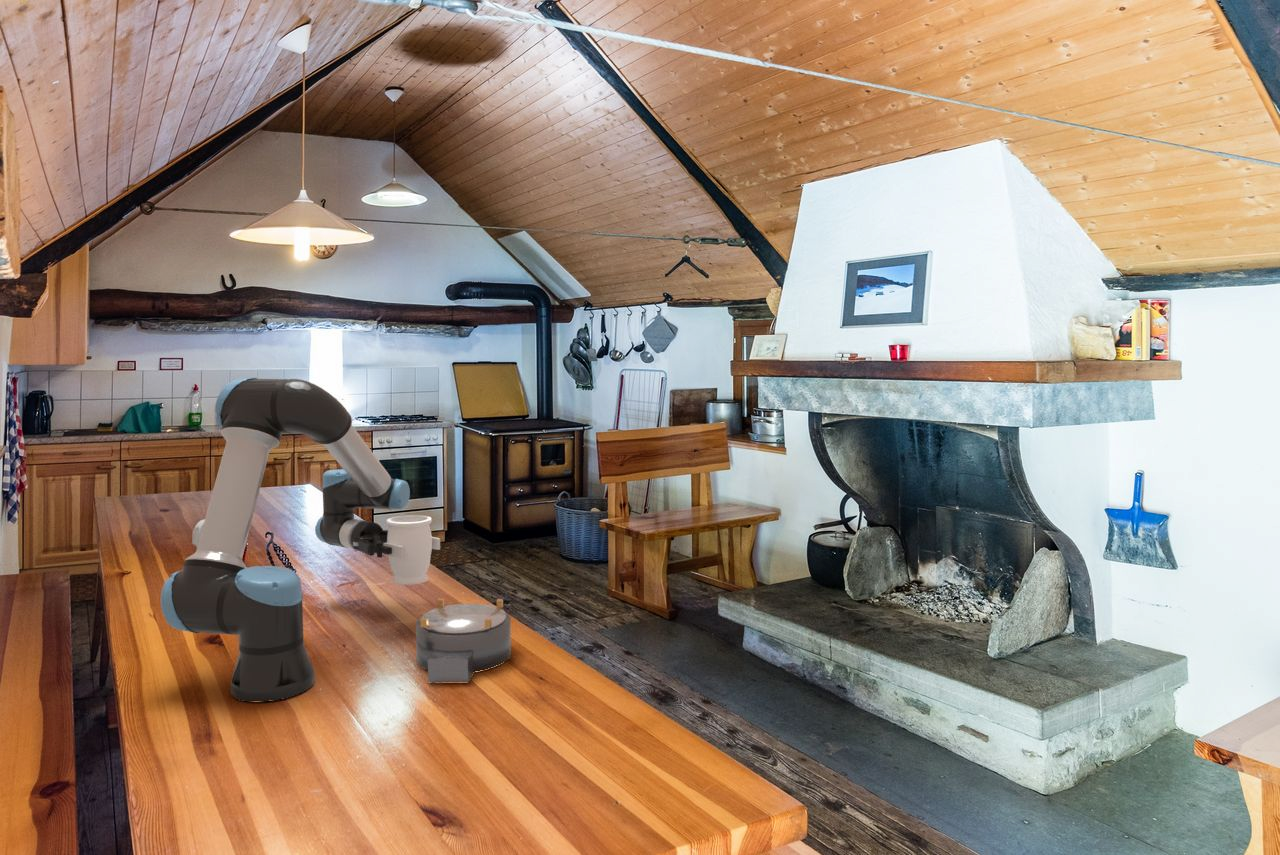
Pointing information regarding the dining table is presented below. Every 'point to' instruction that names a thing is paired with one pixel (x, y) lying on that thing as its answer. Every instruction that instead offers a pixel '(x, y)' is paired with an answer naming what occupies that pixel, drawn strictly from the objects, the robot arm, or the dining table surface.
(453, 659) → the cylinder
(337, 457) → the robot arm
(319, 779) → the dining table surface
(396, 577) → the jar
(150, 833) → the dining table surface
